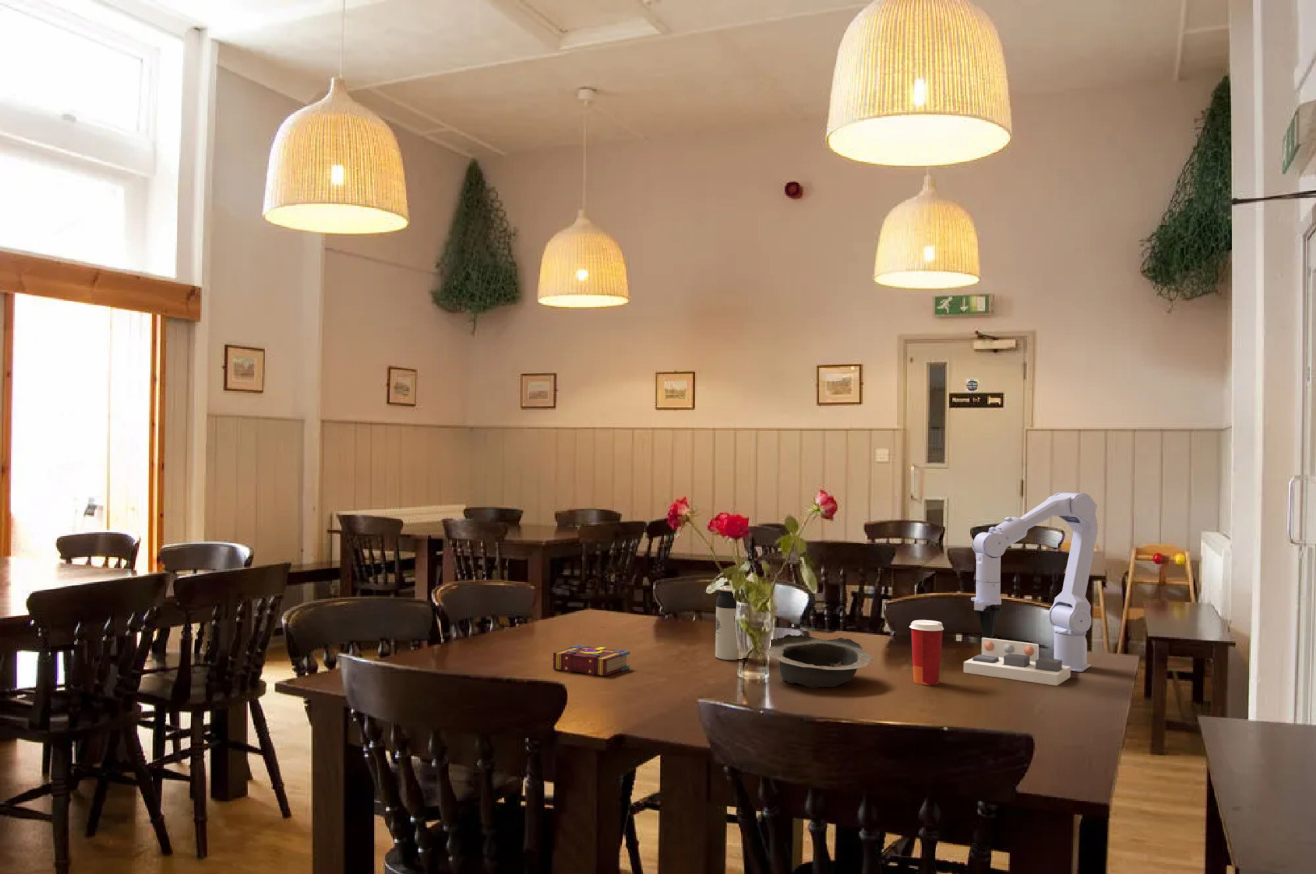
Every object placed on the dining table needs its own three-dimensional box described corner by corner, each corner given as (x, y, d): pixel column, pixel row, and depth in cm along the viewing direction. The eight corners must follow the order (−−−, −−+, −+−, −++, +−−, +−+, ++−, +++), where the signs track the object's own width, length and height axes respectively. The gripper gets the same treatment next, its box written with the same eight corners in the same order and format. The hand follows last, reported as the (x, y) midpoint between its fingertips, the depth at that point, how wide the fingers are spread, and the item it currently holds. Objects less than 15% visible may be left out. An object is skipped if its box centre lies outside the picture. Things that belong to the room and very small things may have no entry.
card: (982, 660, 265) (983, 637, 265) (1038, 668, 256) (1038, 644, 257) (980, 661, 264) (981, 638, 264) (1036, 669, 255) (1037, 645, 255)
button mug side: (979, 666, 256) (979, 654, 256) (998, 668, 253) (998, 657, 253) (972, 669, 252) (973, 657, 252) (992, 671, 249) (992, 659, 249)
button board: (979, 664, 260) (979, 654, 260) (1070, 677, 247) (1070, 666, 247) (963, 672, 250) (963, 662, 250) (1057, 685, 237) (1057, 674, 237)
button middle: (1009, 665, 252) (1009, 653, 252) (1029, 667, 249) (1029, 655, 249) (1003, 668, 248) (1003, 656, 248) (1023, 671, 245) (1024, 658, 245)
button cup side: (1041, 669, 247) (1041, 657, 247) (1061, 672, 245) (1061, 660, 245) (1035, 672, 243) (1035, 660, 243) (1056, 675, 241) (1056, 663, 241)
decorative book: (605, 678, 238) (606, 656, 238) (547, 670, 245) (548, 649, 245) (629, 669, 248) (630, 649, 248) (573, 662, 255) (573, 642, 255)
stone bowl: (798, 664, 255) (801, 627, 255) (889, 688, 239) (893, 648, 239) (741, 678, 236) (745, 639, 236) (836, 705, 220) (840, 662, 220)
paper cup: (947, 681, 239) (947, 621, 239) (938, 688, 233) (938, 626, 233) (914, 677, 243) (914, 618, 243) (904, 683, 237) (905, 622, 237)
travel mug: (746, 655, 266) (747, 586, 267) (746, 661, 259) (747, 590, 259) (716, 654, 267) (717, 585, 268) (714, 660, 259) (715, 589, 260)
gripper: (981, 577, 261) (981, 630, 261) (962, 582, 249) (961, 638, 249) (1009, 579, 257) (1009, 634, 257) (991, 585, 245) (990, 642, 245)
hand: (987, 636), depth 253 cm, fingers closed
